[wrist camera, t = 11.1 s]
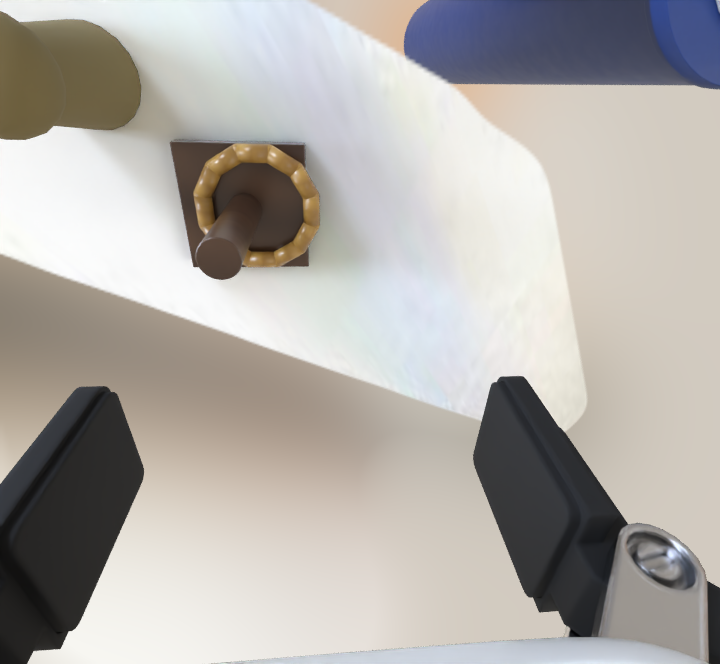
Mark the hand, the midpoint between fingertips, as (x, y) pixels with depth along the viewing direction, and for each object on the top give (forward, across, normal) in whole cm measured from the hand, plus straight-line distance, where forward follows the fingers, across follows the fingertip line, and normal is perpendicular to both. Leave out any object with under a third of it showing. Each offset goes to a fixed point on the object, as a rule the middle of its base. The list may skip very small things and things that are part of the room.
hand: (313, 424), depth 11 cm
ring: (+23, +4, +1) cm, 23 cm away
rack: (+24, +5, +1) cm, 25 cm away
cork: (+25, +14, -7) cm, 29 cm away
